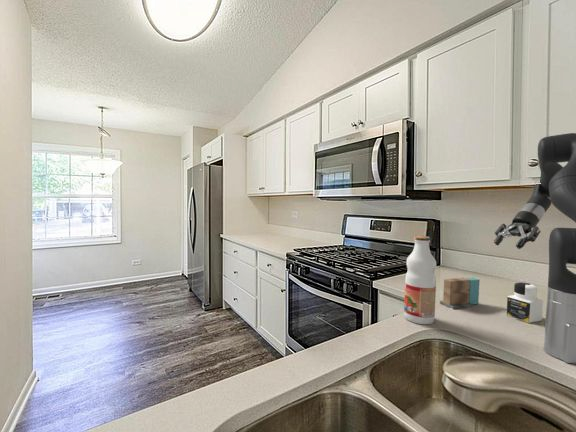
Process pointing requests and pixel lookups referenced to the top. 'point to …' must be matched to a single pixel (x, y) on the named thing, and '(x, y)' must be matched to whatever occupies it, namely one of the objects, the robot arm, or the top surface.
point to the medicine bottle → (525, 303)
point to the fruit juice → (420, 283)
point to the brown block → (456, 293)
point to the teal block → (474, 290)
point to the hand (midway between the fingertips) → (506, 245)
